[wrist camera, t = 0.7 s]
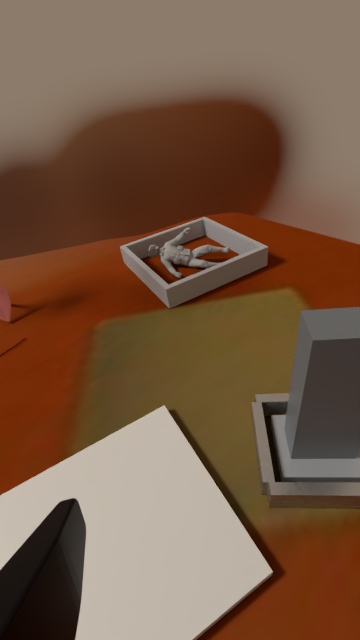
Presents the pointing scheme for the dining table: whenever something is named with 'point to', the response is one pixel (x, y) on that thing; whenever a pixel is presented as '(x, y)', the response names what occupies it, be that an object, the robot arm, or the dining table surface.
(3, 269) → the dining table surface
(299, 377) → the gray pillar
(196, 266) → the soldier figure
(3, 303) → the figurine
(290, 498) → the holder
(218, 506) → the board
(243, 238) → the display rim
